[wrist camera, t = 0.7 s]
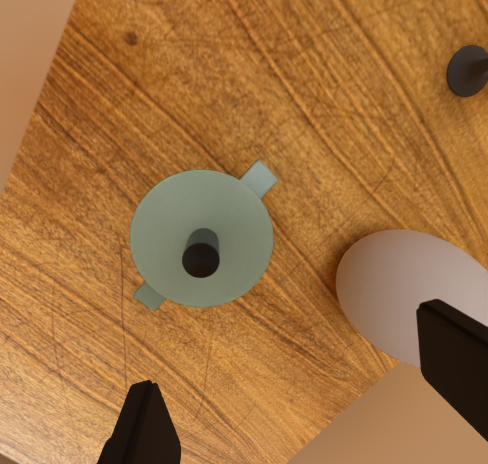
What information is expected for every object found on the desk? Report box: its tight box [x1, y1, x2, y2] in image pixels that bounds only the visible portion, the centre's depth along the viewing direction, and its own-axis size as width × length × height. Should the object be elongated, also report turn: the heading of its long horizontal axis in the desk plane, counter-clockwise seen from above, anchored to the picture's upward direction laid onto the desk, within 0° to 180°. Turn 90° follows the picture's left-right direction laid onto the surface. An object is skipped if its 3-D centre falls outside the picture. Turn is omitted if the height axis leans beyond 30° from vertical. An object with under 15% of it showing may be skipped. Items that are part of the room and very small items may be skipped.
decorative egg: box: [336, 229, 488, 368], centre depth 25 cm, size 12×12×15 cm
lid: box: [130, 169, 274, 307], centre depth 20 cm, size 11×11×6 cm
